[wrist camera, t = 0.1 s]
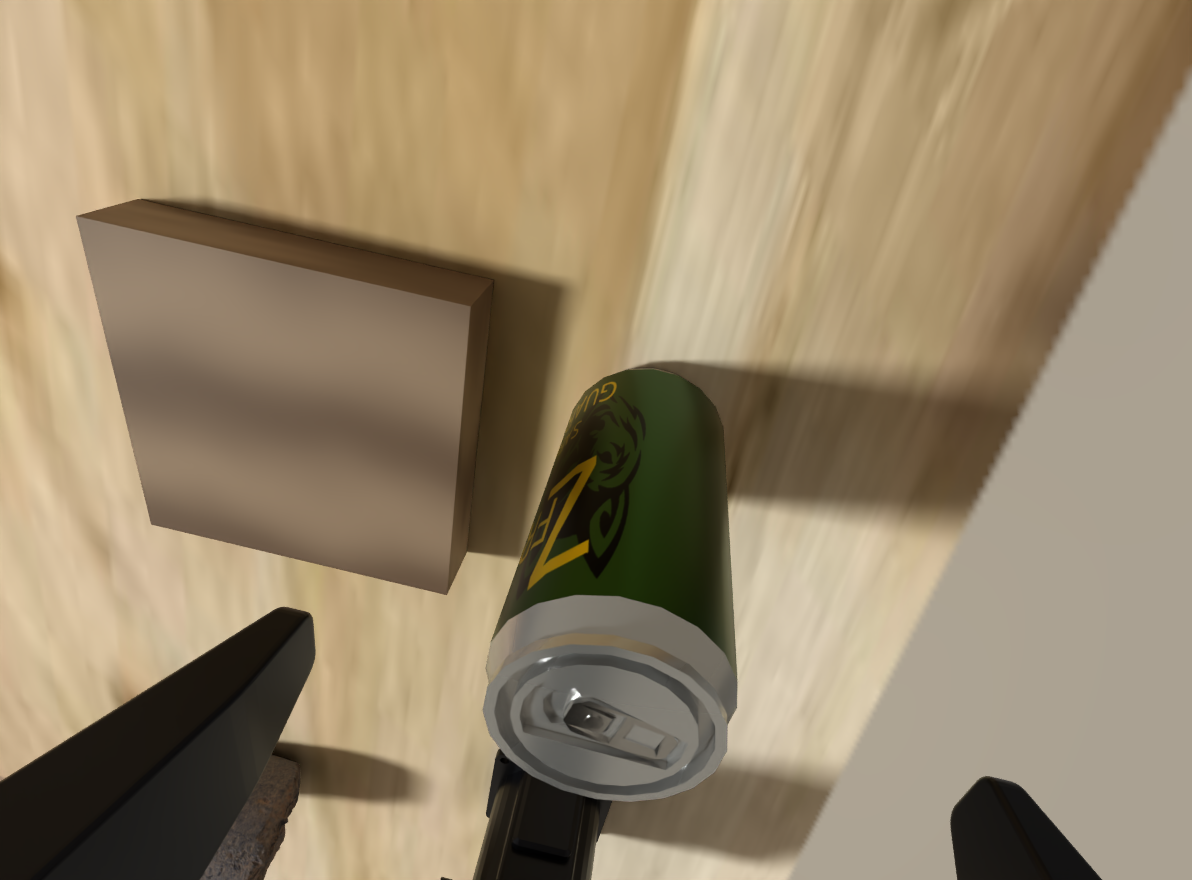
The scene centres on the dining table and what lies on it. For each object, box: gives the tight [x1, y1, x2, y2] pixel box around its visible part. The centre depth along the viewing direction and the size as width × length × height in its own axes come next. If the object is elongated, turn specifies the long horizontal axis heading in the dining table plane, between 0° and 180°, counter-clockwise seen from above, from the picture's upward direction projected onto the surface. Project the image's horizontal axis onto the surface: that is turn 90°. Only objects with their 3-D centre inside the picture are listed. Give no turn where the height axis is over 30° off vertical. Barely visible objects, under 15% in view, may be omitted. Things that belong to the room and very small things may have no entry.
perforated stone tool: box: [200, 755, 300, 880], centre depth 36 cm, size 15×5×7 cm, turn 92°
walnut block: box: [76, 199, 494, 595], centre depth 23 cm, size 12×12×2 cm
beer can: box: [483, 368, 737, 802], centre depth 18 cm, size 5×5×12 cm
